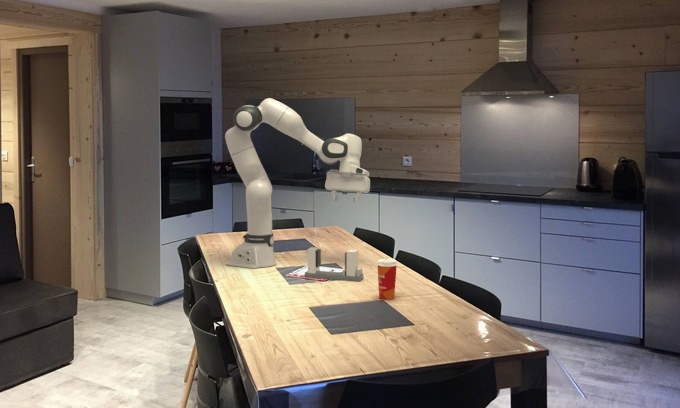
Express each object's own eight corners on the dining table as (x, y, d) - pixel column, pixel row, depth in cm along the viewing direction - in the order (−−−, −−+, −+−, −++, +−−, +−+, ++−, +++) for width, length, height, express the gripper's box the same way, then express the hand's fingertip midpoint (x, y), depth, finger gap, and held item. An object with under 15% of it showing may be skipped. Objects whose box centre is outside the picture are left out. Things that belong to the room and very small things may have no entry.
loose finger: (344, 275, 274) (344, 251, 273) (348, 272, 279) (348, 249, 278) (354, 276, 273) (354, 252, 272) (358, 273, 278) (358, 249, 276)
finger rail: (304, 277, 280) (304, 249, 278) (308, 274, 284) (308, 246, 283) (360, 281, 273) (360, 252, 271) (363, 278, 277) (363, 250, 276)
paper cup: (375, 295, 252) (375, 258, 250) (395, 294, 253) (395, 258, 251) (377, 300, 244) (378, 263, 242) (398, 300, 245) (399, 262, 243)
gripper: (324, 167, 297) (320, 198, 295) (368, 170, 290) (364, 202, 288) (329, 170, 303) (326, 200, 301) (372, 173, 295) (369, 204, 294)
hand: (345, 201), depth 295 cm, fingers open, 8 cm apart
